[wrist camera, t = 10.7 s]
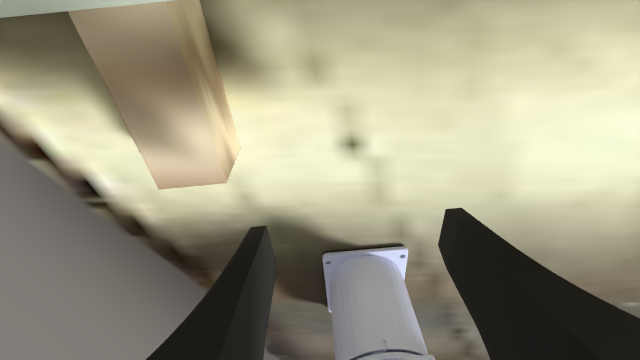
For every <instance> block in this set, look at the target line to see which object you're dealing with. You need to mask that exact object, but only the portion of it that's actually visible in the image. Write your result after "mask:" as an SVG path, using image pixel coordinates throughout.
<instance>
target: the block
mask: <svg viewBox="0 0 640 360" xmlns="http://www.w3.org/2000/svg"><path fill="white" fill-rule="evenodd" d="M165 1H176V0H0V18H4V17H14V16H24V15H34V14H44V13H54V12H64V11H74V10H85V9H95V8H105V7H115V6H125V5H135V4H145V3H155V2H165Z"/></svg>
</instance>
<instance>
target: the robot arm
mask: <svg viewBox="0 0 640 360" xmlns="http://www.w3.org/2000/svg"><path fill="white" fill-rule="evenodd" d="M438 246H439V249H440V252H441V255H442V257H443V260H444V263H445V265H446V268H447V270H448V272H449V274H450V276H451V278H452V280H453V282H454V284H455V286H456V288H457V290H458V291H459V293H460V295H461V297H462V299H463V301H464V303H465V305H466V307H467V309H468V310H469V312H470V314H471V316H472V318H473V320H474V322H475V324H476V326H477V328H478V330H479V332H480V335H481V337H482V340H483V342H484V344H485V347H486V349H487V352H488V354H489V357H490V359H491V360H640V318H638V317H636V316H633V315H631V314H629V313H627V312H625V311H623V310H621V309H619V308H617V307H615V306H613V305H611V304H609V303H607V302H605V301H603V300H601V299H600V298H598V297H596V296H594V295H592V294H590V293H588V292H586V291H584V290H583V289H581V288H579V287H577V286H575V285H574V284H572V283H570V282H569V281H567V280H565V279H563V278H562V277H560V276H558V275H556V274H555V273H553V272H552V271H550V270H548V269H547V268H545V267H543V266H542V265H540V264H539V263H537V262H536V261H534V260H533V259H531V258H530V257H528V256H527V255H525V254H524V253H522V252H521V251H519V250H518V249H516V248H515V247H514V246H512V245H511V244H509V243H508V242H507V241H505V240H504V239H502V238H501V237H500V236H498V235H497V234H496V233H494V232H493V231H492V230H490V229H489V228H488V227H486V226H485V225H484V224H482V223H481V222H480V221H478V220H477V219H476V218H474V217H473V216H472V215H470V214H469V213H468V212H466V211H465V210H464V209H462V208H454V209H446V211H445V216H444V220H443V225H442V229H441V234H440V239H439V243H438ZM407 257H408V250H407V248H406V247H404V246H401V247H390V248H378V249H366V250H355V251H343V252H332V253H325V254H324V255H323V257H322V258H323V267H324V276H325V285H326V293H327V302H328V310H329V312H332V325H333V337H334V350H335V360H435V358H434V356H433V355H428V352H427V349H426V346H425V343H424V340H423V337H422V334H421V331H420V328H419V325H418V322H417V319H416V316H415V313H414V310H413V307H412V304H411V301H410V298H409V295H408V292H407V289H406V286H405V283H404V278H405V271H406V264H407ZM274 280H275V256H274V253H273V249H272V245H271V241H270V238H269V234H268V230H267V226H258V227H251V228H250V229H249V231H248V232H247V234H246V236H245V238H244V239H243V241H242V243H241V244H240V246H239V247H238V249H237V251H236V252H235V254H234V255H233V257H232V258H231V260H230V261H229V263H228V264H227V266H226V267H225V269H224V270H223V272H222V273H221V275H220V276H219V278H218V279H217V280H216V282H215V283H214V284H213V286H212V287H211V288H210V290H209V291H208V292H207V294H206V295H205V296H204V297H203V299H202V300H201V301H200V302H199V304H198V305H197V306H196V307H195V308H194V310H193V311H192V312H191V313H190V314H189V315H188V317H187V318H186V319H185V320H184V321H183V322H182V323H181V324H180V326H179V327H178V328H177V329H176V330H175V331H174V332H173V333H172V334H171V335H170V336H169V337H168V338H167V339H166V340H165V342H163V344H161V345H160V346H159V348H158V349H156V351H154V352H153V353H152V354H151V355H150V356H149V357H148V358H147V359H146V360H263V356H264V346H265V338H266V332H267V326H268V320H269V314H270V308H271V302H272V295H273V289H274Z"/></svg>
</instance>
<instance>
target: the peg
mask: <svg viewBox="0 0 640 360" xmlns="http://www.w3.org/2000/svg"><path fill="white" fill-rule="evenodd" d="M67 12H68V14H69V16H70V18H71V20H72V21H73V23H74V25H75V27H76V29H77V31H78V33H79V35H80V37H81V39H82V41H83V43H84V45H85V47H86V49H87V51H88V53H89V55H90V57H91V58H92V60H93V62H94V64H95V66H96V68H97V70H98V72H99V74H100V76H101V78H102V80H103V82H104V84H105V86H106V88H107V90H108V92H109V93H110V95H111V97H112V99H113V101H114V103H115V105H116V107H117V109H118V111H119V113H120V115H121V117H122V119H123V121H124V123H125V125H126V127H127V129H128V130H129V132H130V134H131V136H132V138H133V140H134V142H135V144H136V146H137V148H138V150H139V152H140V154H141V156H142V158H143V160H144V162H145V164H146V165H147V167H148V169H149V171H150V173H151V175H152V177H153V179H154V181H155V183H156V185H157V187H158V189H169V188H180V187H190V186H201V185H211V184H222V183H226V182H227V180H228V177H229V175H230V173H231V170H232V168H233V165H234V163H235V160H236V158H237V155H238V153H239V150H240V144H239V141H238V137H237V133H236V130H235V126H234V123H233V119H232V115H231V112H230V108H229V105H228V101H227V97H226V94H225V90H224V87H223V83H222V80H221V76H220V72H219V69H218V65H217V62H216V58H215V54H214V51H213V47H212V44H211V40H210V36H209V33H208V29H207V26H206V22H205V18H204V15H203V11H202V8H201V4H200V1H199V0H176V1H165V2H155V3H145V4H135V5H125V6H115V7H105V8H95V9H85V10H74V11H67Z"/></svg>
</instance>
